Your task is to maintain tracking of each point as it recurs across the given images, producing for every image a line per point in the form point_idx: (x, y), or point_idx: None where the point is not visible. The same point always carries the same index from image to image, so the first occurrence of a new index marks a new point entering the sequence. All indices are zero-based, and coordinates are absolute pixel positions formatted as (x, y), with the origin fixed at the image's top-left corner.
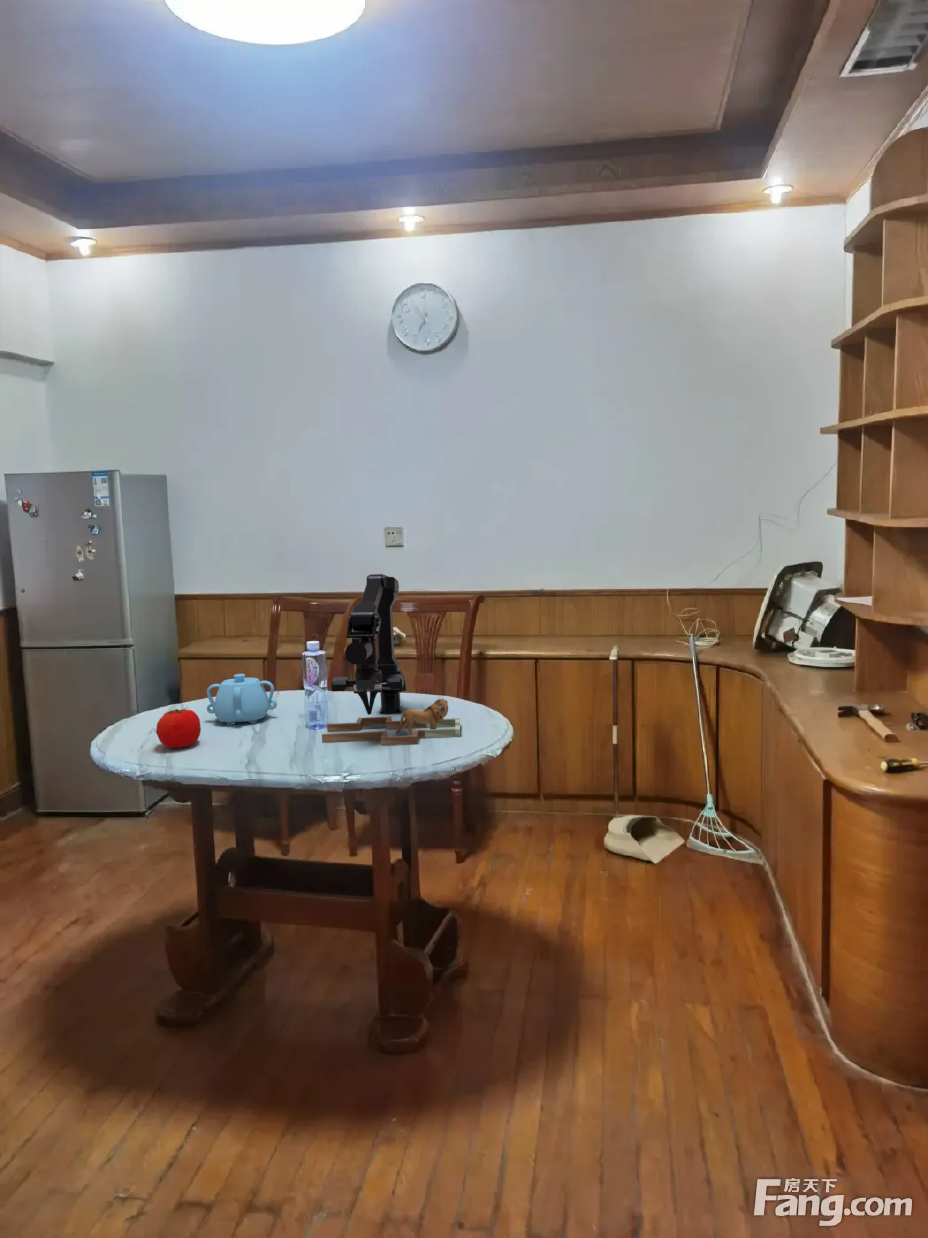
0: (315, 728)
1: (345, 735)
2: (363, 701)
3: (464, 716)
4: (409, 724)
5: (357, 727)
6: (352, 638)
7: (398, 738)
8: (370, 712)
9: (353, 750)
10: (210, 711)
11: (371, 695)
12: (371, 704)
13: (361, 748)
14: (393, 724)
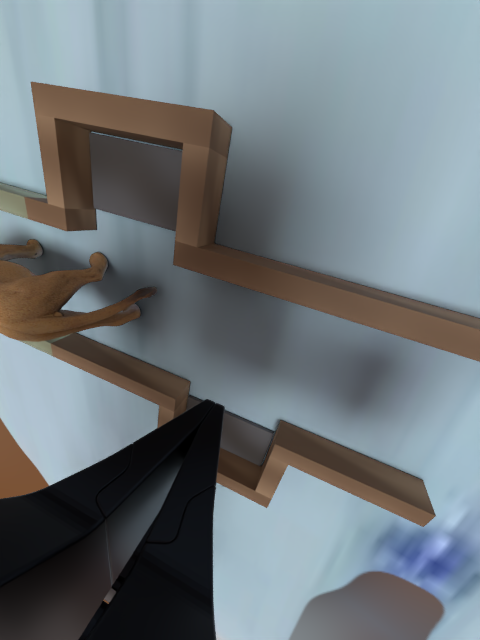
0: (449, 546)
1: (408, 306)
2: (203, 507)
3: (11, 381)
4: (69, 274)
5: (289, 435)
6: None
7: (120, 97)
8: (201, 407)
9: (429, 47)
10: None
11: (63, 527)
12: (155, 443)
13: (355, 96)
14: (155, 382)
